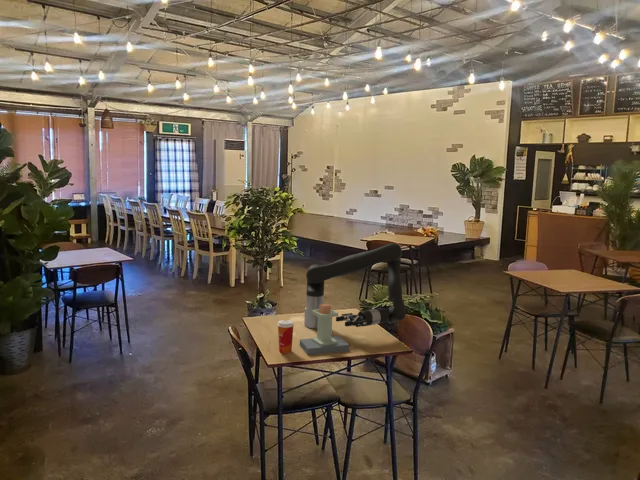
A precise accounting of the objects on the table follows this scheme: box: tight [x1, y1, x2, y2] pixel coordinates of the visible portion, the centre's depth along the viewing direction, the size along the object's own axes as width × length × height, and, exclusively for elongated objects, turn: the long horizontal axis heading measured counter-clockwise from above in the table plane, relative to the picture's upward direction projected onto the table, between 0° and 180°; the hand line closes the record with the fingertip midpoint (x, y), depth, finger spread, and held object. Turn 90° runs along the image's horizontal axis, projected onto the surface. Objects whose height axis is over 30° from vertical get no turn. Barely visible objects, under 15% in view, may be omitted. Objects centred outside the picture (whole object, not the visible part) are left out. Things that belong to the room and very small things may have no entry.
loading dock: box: [299, 335, 350, 356], centre depth 237 cm, size 20×13×3 cm, turn 108°
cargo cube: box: [319, 303, 332, 314], centre depth 235 cm, size 4×4×4 cm
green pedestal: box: [311, 308, 339, 346], centre depth 236 cm, size 9×9×15 cm
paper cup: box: [277, 319, 295, 355], centre depth 231 cm, size 8×8×14 cm
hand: (340, 321), depth 240 cm, fingers open, 8 cm apart
